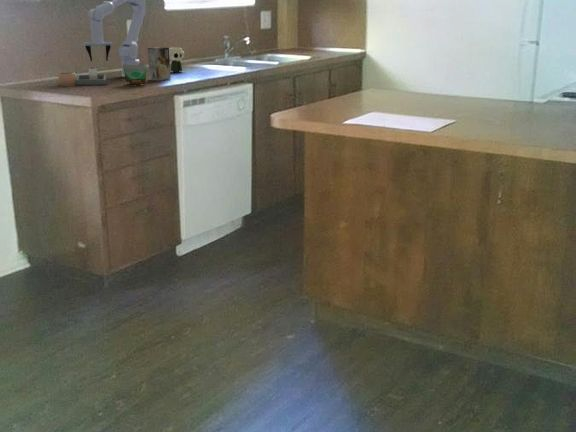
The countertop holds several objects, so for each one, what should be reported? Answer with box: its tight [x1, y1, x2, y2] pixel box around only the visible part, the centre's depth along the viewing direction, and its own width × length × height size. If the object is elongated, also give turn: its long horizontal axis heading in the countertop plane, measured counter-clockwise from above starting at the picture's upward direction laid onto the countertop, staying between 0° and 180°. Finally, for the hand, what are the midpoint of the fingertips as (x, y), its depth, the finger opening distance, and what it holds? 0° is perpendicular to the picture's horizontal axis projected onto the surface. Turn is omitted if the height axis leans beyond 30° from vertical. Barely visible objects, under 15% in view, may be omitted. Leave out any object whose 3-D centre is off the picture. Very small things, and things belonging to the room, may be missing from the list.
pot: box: [57, 71, 77, 87], centre depth 353 cm, size 8×8×6 cm
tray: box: [76, 74, 107, 86], centre depth 365 cm, size 14×20×2 cm
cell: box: [88, 66, 98, 80], centre depth 366 cm, size 4×4×7 cm
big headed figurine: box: [168, 47, 185, 73], centre depth 406 cm, size 11×7×13 cm, turn 129°
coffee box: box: [147, 46, 171, 81], centre depth 375 cm, size 9×6×16 cm
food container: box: [121, 63, 149, 86], centre depth 355 cm, size 12×6×10 cm, turn 117°
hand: (99, 60), depth 374 cm, fingers open, 7 cm apart
